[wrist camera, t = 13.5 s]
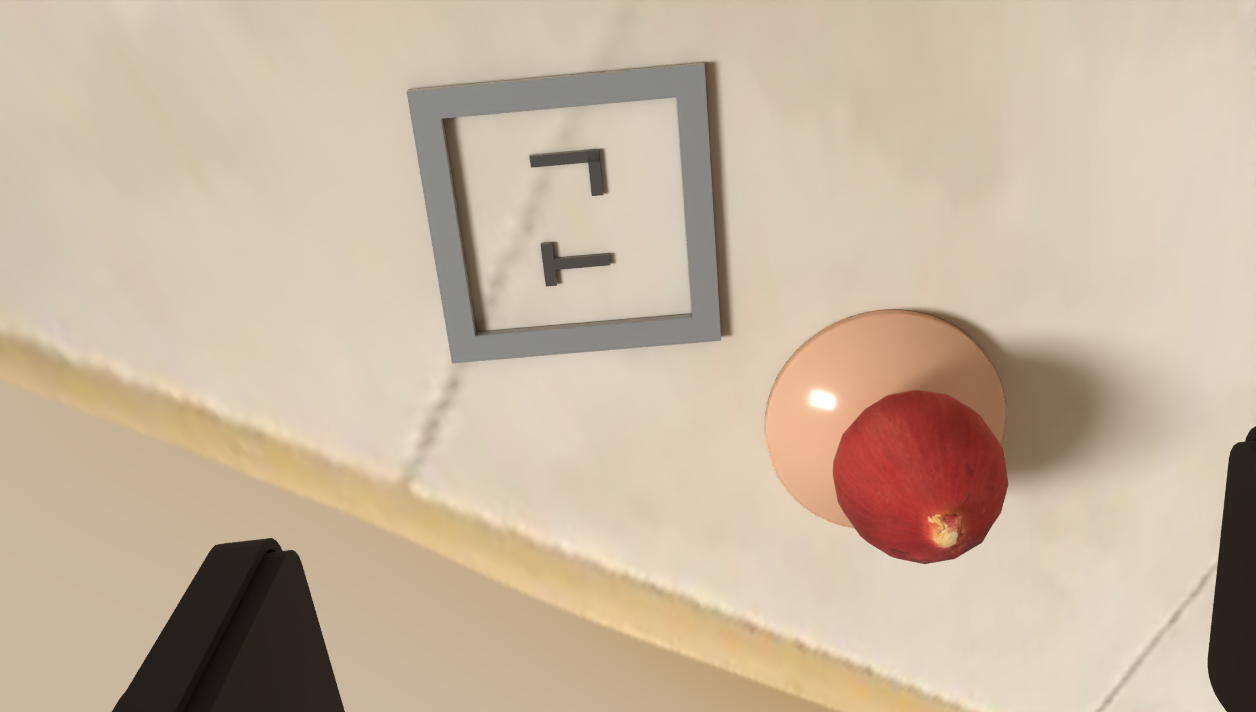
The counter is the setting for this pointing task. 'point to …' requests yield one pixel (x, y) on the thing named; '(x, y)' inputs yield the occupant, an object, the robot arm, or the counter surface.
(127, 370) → the counter surface
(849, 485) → the onion
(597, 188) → the frame
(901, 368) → the disc
